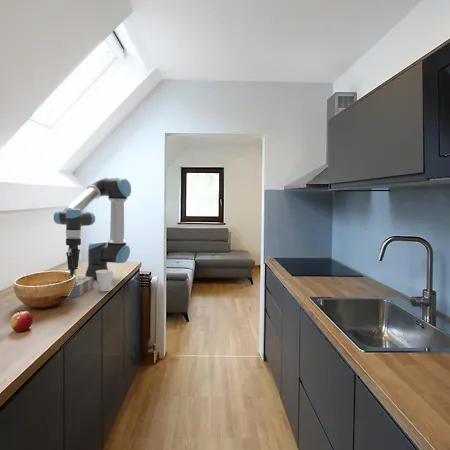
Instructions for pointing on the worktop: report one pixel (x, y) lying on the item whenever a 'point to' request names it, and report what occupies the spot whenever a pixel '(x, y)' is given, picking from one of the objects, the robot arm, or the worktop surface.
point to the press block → (81, 286)
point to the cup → (104, 279)
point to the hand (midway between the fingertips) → (72, 281)
